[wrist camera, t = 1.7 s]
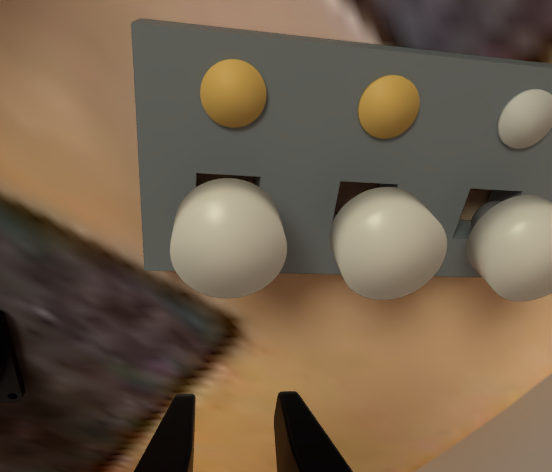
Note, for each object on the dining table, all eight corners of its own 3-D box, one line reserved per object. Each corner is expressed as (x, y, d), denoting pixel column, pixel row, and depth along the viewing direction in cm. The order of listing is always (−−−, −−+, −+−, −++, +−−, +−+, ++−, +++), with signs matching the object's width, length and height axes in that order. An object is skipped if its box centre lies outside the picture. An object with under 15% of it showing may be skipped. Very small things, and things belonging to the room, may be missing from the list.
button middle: (397, 252, 20) (429, 300, 17) (313, 250, 19) (331, 299, 16) (420, 172, 18) (461, 210, 15) (328, 167, 17) (352, 205, 14)
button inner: (270, 249, 19) (280, 299, 16) (178, 246, 18) (170, 297, 15) (280, 164, 17) (293, 202, 14) (177, 157, 16) (169, 197, 13)
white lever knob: (512, 256, 21) (562, 301, 18) (436, 253, 20) (475, 301, 17) (547, 180, 19) (609, 217, 16) (464, 175, 18) (513, 213, 15)
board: (501, 257, 24) (526, 280, 22) (150, 246, 21) (143, 272, 19) (586, 67, 19) (626, 76, 17) (140, 18, 16) (130, 23, 14)
